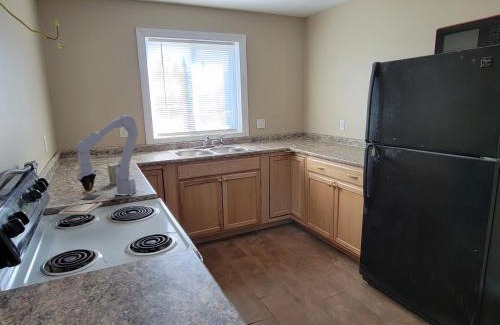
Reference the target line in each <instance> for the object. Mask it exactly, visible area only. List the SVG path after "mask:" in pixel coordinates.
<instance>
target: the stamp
mask: <svg viewBox="0 0 500 325" xmlns="http://www.w3.org/2000/svg"><path fill="white" fill-rule="evenodd" d="M96 192H97V188H92V183H91V181H89V190H85V189H84V190H83V191H81V195H85V196H87V195H94V194H95V193H96Z"/></svg>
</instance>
